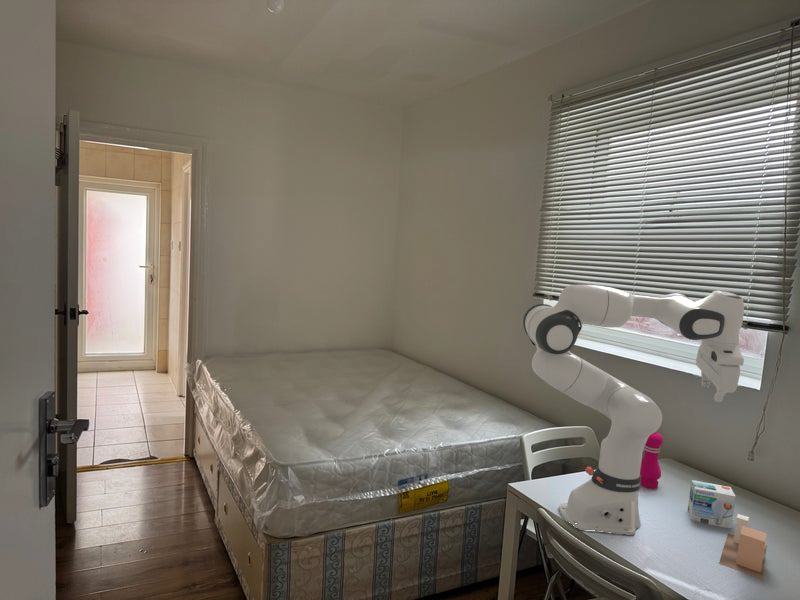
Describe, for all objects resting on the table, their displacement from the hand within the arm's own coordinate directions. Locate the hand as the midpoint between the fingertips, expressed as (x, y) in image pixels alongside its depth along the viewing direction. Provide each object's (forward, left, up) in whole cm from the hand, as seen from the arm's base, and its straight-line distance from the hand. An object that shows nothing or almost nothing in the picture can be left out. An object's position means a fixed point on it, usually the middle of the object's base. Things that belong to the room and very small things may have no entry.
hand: (711, 393), depth 153 cm
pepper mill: (-1, +23, -39) cm, 45 cm away
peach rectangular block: (-2, -23, -37) cm, 44 cm away
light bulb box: (+3, -1, -39) cm, 39 cm away
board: (0, -19, -38) cm, 43 cm away
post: (+3, -13, -37) cm, 40 cm away
